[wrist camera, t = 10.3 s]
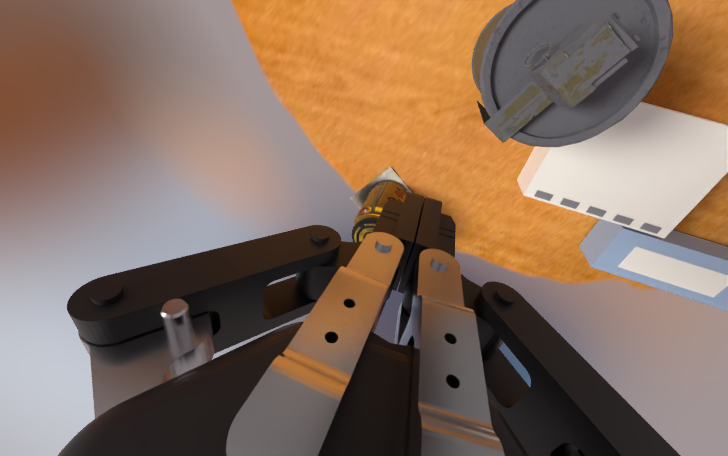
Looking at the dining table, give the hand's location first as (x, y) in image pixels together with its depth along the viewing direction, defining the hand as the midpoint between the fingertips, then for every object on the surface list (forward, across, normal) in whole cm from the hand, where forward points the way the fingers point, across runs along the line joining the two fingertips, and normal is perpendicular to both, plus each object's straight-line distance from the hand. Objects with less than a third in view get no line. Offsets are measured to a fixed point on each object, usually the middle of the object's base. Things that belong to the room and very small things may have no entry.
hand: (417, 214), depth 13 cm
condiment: (+30, +4, +16) cm, 34 cm away
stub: (+30, -32, +11) cm, 45 cm away
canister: (+30, -6, -6) cm, 32 cm away
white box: (+30, -20, +2) cm, 36 cm away
